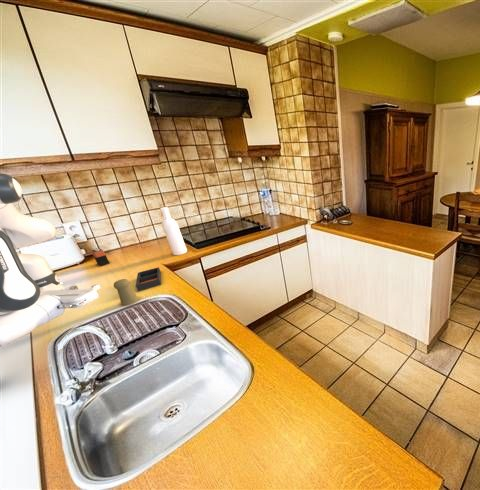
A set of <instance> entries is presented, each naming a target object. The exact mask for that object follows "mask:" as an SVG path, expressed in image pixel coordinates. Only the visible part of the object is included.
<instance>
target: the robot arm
mask: <svg viewBox="0 0 480 490" xmlns="http://www.w3.org/2000/svg"><path fill="white" fill-rule="evenodd" d="M22 195H23V188H22V186H21V184H20V183H19V182H18V181H17V180H16V178H14V177H13V176H12V175H9V174H8V173H2V172H0V348H1V347H5V346H7V345H9V344H11V343H13V342H15V341H17V340H19V339H21V338H24V337H25V336H27V335H29V334H30V333H32V332H34V330H35V329H37V328H39V327H41V326H44V325H46V324H48V323H49V322H51V321H53V320H55V319H57V318H59V317H61V316H62V315H63V314H64V313H65V309H77V308H81V307H84V306H85V305H88V304H89V303H92V302H94V301H95V300H97V299H99V297H100V295H99V292H98V290H100V289H101V285H100V284H94V285H91V286H90V288H81V289H79V287H78V286H77V285H74V284H73V285H70V286H68V287H65V286H64V285H63V282H62V281H61V280H60V278H59V276H58V274H57V273H56V272H55V271H54V270H52V267H51V266H50V264H49V262H48V261H47V259H46V258H45V257H44V256H42V255H39V254H34V253H21V252H17V249H22V248H26V247H31V246H36V245H39V244H42V243H45V242H47V241H50V240H53V239H54V238H55V237H56V234H57V229H56V227H55V225H54V224H53V223H52V222H51V221H49V220H47V219H44V218H41V217H35V216H30V215H27V214H25V213H22V212H21V211H19V210H18V209H17V207H15V205H14V203H18V202H19V201H20V200H21V199H22Z"/></svg>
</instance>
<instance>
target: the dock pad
mask: <svg viewBox="0 0 480 490" xmlns="http://www.w3.org/2000/svg"><path fill="white" fill-rule="evenodd" d="M161 285H162V270H161V269H160V267H159V266H158V267H154V268H150V269H145V270H143V271H139V272H137V275H136V281H135V288H136V290H137V292H140V291H144V290H147V289H152V288H154V287H158V286H161Z"/></svg>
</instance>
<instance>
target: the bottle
mask: <svg viewBox="0 0 480 490" xmlns="http://www.w3.org/2000/svg"><path fill="white" fill-rule="evenodd" d="M159 208H160V212H161V215H162V217H163V220H162V222H161V227H162V230H163V232H164V234H165V237H166V240H167V242H168V245H169V248H170V250H171V251H170V252H171V253H172V255H173V256H180V255H183V254H186V253H187V252H188V248H187V246H186V244H185V240H184V237H183V235H182V233H181V230H180V227H179V223H178V222H177V221H176V220H175V219H174V218H172V216H171V214H170V210H169V208H168V206H164V207H159Z"/></svg>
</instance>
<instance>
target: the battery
mask: <svg viewBox="0 0 480 490" xmlns="http://www.w3.org/2000/svg"><path fill="white" fill-rule="evenodd" d="M90 253H91V254H92V256H93V258H94V260H95V262H96V264H97V265H99V266H100V267H103V266H106V265H108V264H110V261H109V259H108V256H107V255H106V253H105V251H104V249H102V248H99V247H94V248H93V249H91V250H90Z"/></svg>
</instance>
